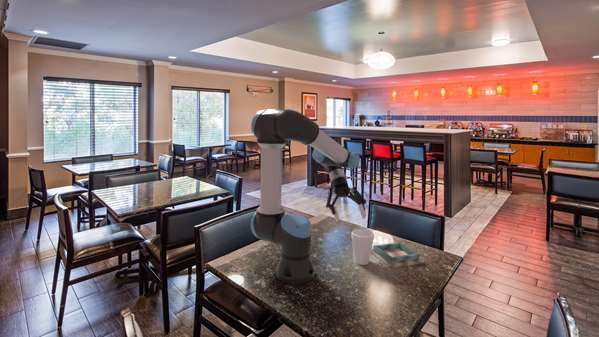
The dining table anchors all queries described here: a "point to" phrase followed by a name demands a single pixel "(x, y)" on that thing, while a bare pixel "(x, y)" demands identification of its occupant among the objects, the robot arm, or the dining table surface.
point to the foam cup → (362, 245)
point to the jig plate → (396, 255)
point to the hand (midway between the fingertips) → (351, 218)
